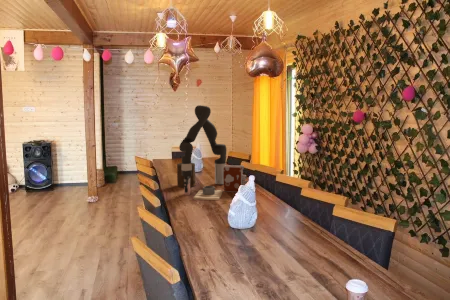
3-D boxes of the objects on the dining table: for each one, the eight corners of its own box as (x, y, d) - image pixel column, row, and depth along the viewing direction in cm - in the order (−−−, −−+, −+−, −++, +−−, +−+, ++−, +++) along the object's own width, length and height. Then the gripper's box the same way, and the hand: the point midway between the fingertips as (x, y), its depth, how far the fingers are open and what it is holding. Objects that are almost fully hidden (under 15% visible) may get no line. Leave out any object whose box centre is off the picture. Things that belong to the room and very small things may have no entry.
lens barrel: (204, 192, 301) (203, 185, 301) (215, 192, 300) (215, 185, 300) (202, 195, 293) (202, 188, 292) (213, 195, 292) (213, 188, 292)
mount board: (199, 191, 310) (199, 189, 310) (222, 192, 308) (222, 190, 308) (193, 199, 286) (193, 197, 286) (218, 200, 284) (218, 197, 284)
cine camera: (248, 193, 304) (248, 166, 302) (222, 192, 308) (222, 166, 306) (249, 190, 313) (249, 164, 311) (225, 189, 317) (224, 164, 314)
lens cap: (185, 193, 305) (184, 183, 304) (190, 193, 305) (190, 183, 304) (183, 194, 301) (183, 184, 300) (189, 194, 300) (189, 184, 300)
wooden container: (193, 183, 342) (192, 157, 340) (197, 186, 328) (196, 160, 325) (176, 184, 338) (175, 158, 336) (179, 188, 324) (178, 161, 321)
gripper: (183, 167, 308) (184, 189, 310) (179, 171, 294) (180, 193, 296) (193, 167, 307) (193, 189, 309) (189, 171, 293) (190, 193, 295)
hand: (187, 191), depth 303 cm, fingers open, 7 cm apart
